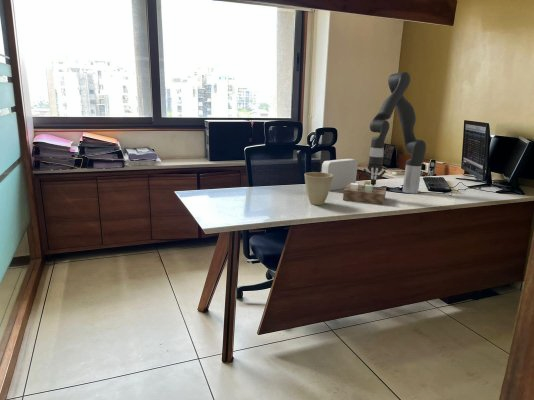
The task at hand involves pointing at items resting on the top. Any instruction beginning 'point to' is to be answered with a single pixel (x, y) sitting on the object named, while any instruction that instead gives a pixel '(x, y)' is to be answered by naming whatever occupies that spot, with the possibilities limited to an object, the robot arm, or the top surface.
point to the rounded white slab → (341, 172)
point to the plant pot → (317, 186)
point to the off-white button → (353, 186)
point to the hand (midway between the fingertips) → (372, 185)
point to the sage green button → (368, 188)
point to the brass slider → (366, 183)
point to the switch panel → (365, 195)
